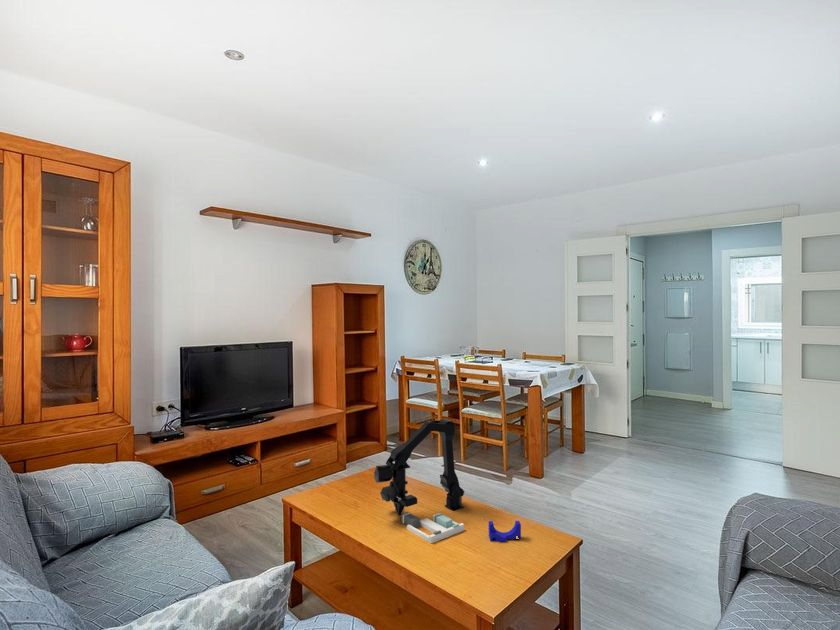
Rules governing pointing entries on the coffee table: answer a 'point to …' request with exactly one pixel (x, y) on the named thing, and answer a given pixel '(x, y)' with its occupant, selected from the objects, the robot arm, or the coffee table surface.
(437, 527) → the slot rack
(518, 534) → the blue cradle block
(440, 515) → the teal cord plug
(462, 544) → the coffee table surface
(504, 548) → the coffee table surface
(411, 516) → the dark grey block
